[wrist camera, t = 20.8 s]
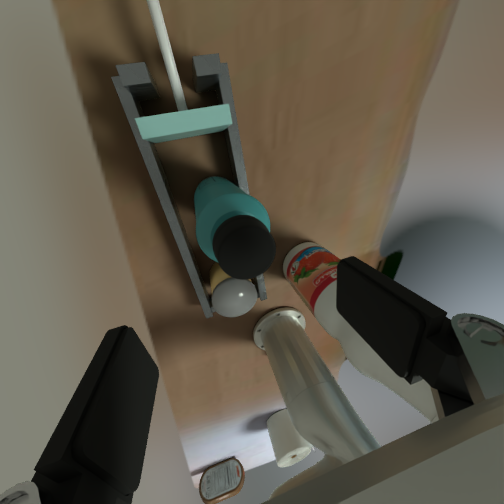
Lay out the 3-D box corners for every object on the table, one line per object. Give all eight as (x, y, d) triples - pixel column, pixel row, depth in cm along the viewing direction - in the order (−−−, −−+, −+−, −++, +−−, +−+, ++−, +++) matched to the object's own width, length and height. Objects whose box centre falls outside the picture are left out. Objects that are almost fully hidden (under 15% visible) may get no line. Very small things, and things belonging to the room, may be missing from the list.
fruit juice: (282, 287, 41) (412, 480, 17) (279, 246, 36) (451, 432, 12) (323, 275, 43) (495, 436, 18) (325, 235, 38) (556, 379, 14)
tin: (200, 473, 69) (201, 511, 62) (197, 470, 67) (198, 508, 60) (241, 456, 71) (247, 490, 64) (240, 452, 70) (246, 487, 63)
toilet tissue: (263, 417, 63) (274, 459, 54) (297, 402, 65) (314, 440, 56) (268, 430, 68) (279, 471, 60) (300, 416, 70) (315, 453, 61)
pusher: (222, 131, 26) (232, 123, 19) (156, 143, 25) (142, 139, 18) (182, -63, 18) (176, -188, 12) (84, -61, 17) (14, -200, 10)
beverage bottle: (191, 215, 30) (190, 301, 13) (194, 168, 27) (198, 196, 10) (233, 220, 32) (282, 299, 15) (240, 177, 29) (309, 212, 12)
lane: (261, 287, 39) (271, 307, 34) (205, 305, 38) (207, 329, 33) (222, 74, 24) (231, 52, 18) (122, 87, 22) (100, 66, 17)
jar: (247, 284, 38) (258, 310, 32) (212, 292, 37) (216, 321, 30) (243, 253, 35) (255, 275, 29) (205, 261, 34) (208, 286, 27)
